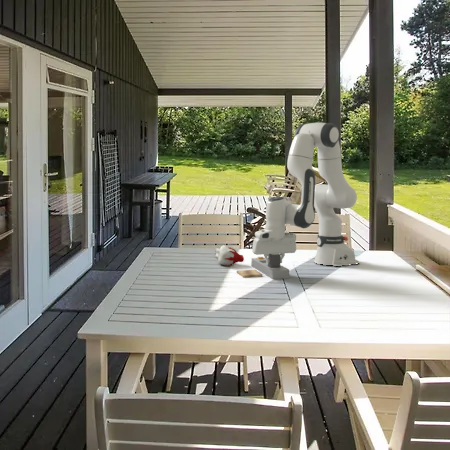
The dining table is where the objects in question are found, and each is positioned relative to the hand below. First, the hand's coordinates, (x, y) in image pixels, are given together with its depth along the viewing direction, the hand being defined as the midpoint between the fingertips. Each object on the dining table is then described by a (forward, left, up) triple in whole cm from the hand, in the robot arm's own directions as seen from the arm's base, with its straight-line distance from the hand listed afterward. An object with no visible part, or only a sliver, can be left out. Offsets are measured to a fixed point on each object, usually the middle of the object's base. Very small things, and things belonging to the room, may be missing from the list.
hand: (274, 263), depth 245 cm
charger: (0, 0, -3) cm, 3 cm away
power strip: (0, -8, -5) cm, 9 cm away
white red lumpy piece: (+14, -23, -5) cm, 27 cm away
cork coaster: (+11, -2, -5) cm, 12 cm away
